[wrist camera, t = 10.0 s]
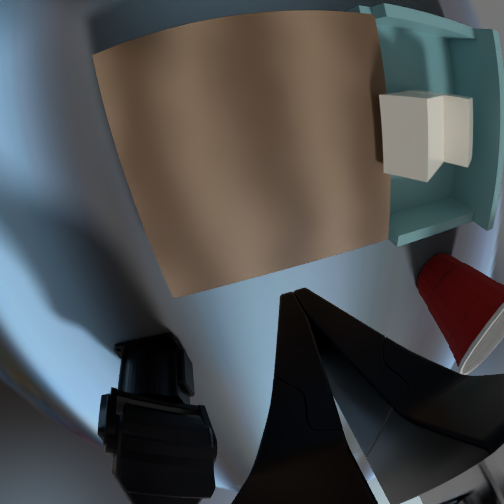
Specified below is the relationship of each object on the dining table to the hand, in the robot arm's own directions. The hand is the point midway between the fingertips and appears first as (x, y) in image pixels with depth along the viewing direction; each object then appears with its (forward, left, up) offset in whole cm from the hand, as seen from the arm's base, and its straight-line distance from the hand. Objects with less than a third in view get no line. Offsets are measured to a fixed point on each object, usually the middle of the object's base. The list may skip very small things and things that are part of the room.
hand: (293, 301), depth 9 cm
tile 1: (+14, +3, -9) cm, 17 cm away
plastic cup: (+21, -15, -13) cm, 29 cm away
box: (+16, +3, -13) cm, 21 cm away
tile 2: (+11, +3, -9) cm, 15 cm away
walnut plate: (+2, +3, -13) cm, 13 cm away
